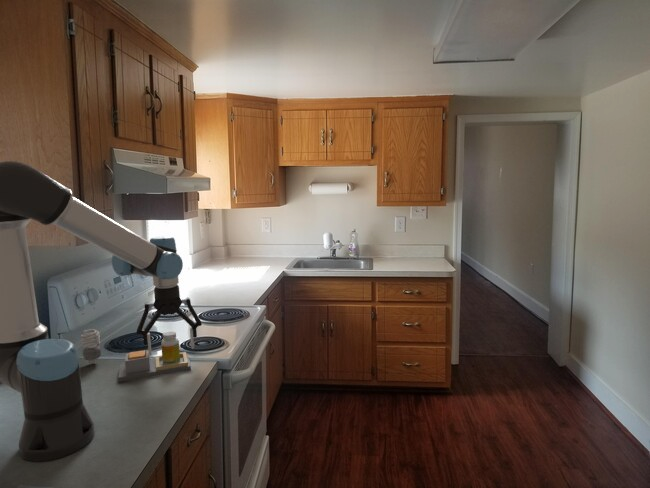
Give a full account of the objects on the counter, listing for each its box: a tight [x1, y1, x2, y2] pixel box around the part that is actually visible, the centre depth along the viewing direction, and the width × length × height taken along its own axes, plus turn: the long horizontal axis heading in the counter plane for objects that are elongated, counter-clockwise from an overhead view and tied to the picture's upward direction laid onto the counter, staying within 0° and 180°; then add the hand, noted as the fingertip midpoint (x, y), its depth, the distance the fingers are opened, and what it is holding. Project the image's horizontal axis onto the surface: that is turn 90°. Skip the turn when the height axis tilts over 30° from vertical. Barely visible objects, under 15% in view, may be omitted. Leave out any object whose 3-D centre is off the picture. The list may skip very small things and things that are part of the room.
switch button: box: [129, 349, 146, 360], centre depth 143 cm, size 5×5×4 cm
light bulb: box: [80, 328, 102, 365], centre depth 150 cm, size 6×6×12 cm
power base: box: [117, 349, 192, 383], centre depth 145 cm, size 21×11×6 cm, turn 111°
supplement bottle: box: [160, 331, 181, 365], centre depth 146 cm, size 5×5×10 cm
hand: (171, 350), depth 146 cm, fingers open, 12 cm apart
